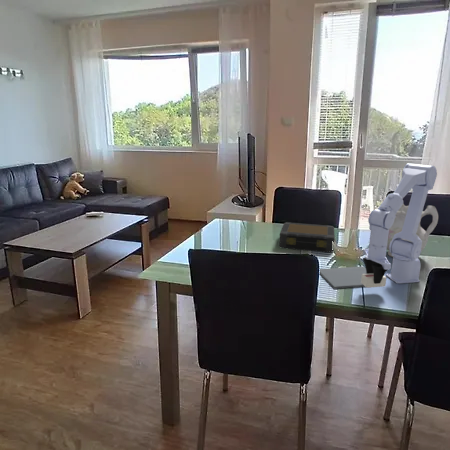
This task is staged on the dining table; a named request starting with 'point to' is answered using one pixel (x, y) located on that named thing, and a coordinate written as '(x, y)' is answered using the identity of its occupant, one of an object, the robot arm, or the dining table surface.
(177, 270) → the dining table surface
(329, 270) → the slate mat
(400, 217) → the ceramic pitcher
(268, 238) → the dining table surface
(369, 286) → the white rectangular block
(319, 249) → the cash box
